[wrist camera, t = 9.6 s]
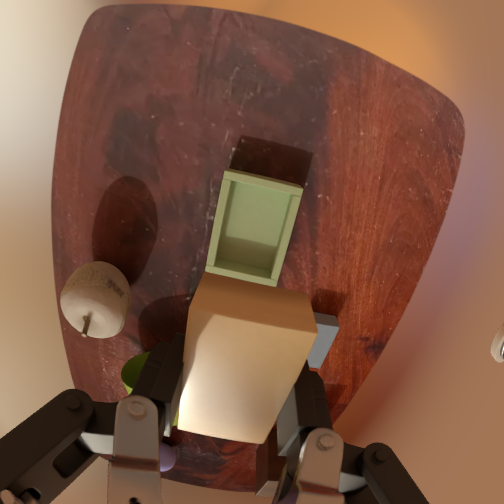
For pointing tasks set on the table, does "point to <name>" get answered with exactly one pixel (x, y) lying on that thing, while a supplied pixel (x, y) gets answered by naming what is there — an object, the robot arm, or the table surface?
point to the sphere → (166, 457)
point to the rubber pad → (322, 338)
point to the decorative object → (96, 299)
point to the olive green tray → (252, 226)
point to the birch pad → (242, 356)
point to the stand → (268, 466)
